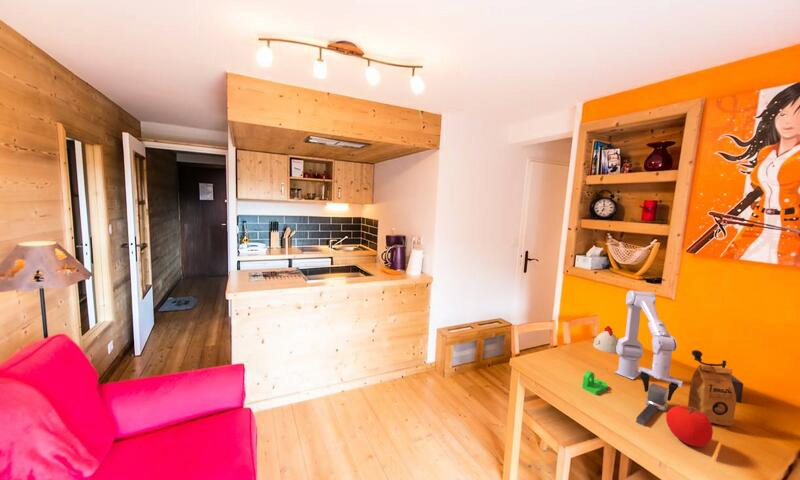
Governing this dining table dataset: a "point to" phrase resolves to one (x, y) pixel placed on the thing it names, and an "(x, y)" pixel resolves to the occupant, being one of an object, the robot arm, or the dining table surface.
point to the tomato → (689, 425)
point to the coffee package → (713, 394)
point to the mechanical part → (593, 383)
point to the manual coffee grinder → (736, 383)
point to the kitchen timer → (606, 341)
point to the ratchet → (649, 412)
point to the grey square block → (657, 394)
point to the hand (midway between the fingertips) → (657, 395)
